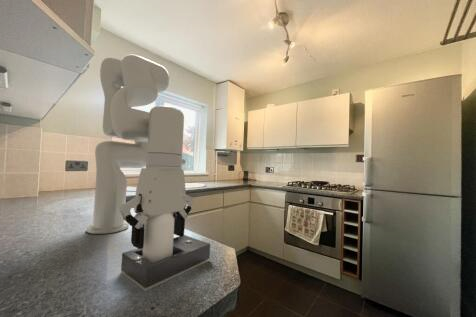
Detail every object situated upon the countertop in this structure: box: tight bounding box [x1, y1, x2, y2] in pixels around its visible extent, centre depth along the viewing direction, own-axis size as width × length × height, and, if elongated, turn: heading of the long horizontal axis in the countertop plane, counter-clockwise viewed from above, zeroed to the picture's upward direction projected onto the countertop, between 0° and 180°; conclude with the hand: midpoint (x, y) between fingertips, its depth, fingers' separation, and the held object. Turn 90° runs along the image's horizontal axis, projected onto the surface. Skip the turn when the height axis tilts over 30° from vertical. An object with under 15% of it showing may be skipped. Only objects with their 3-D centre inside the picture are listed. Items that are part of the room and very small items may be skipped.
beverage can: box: [142, 213, 175, 263], centre depth 43 cm, size 6×6×12 cm
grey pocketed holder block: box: [120, 234, 211, 292], centre depth 44 cm, size 10×16×4 cm, turn 143°
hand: (160, 240), depth 43 cm, fingers open, 9 cm apart
